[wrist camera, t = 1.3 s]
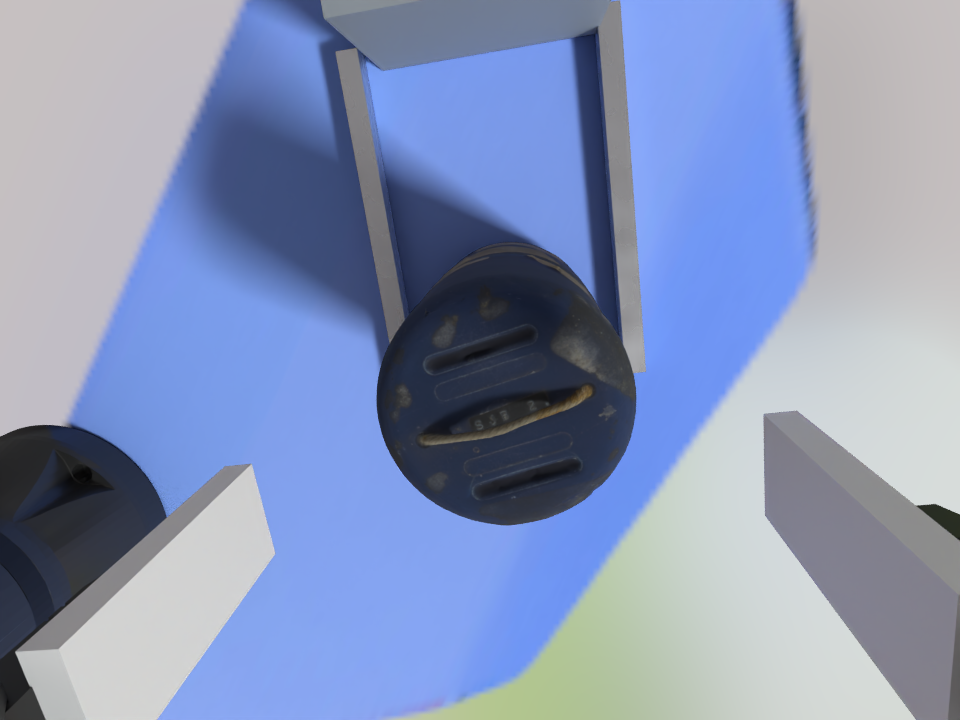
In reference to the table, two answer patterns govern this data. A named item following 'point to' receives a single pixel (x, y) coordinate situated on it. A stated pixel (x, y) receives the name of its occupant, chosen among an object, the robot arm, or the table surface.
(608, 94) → the rail track
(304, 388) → the table surface
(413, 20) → the end cabinet
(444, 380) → the canister
